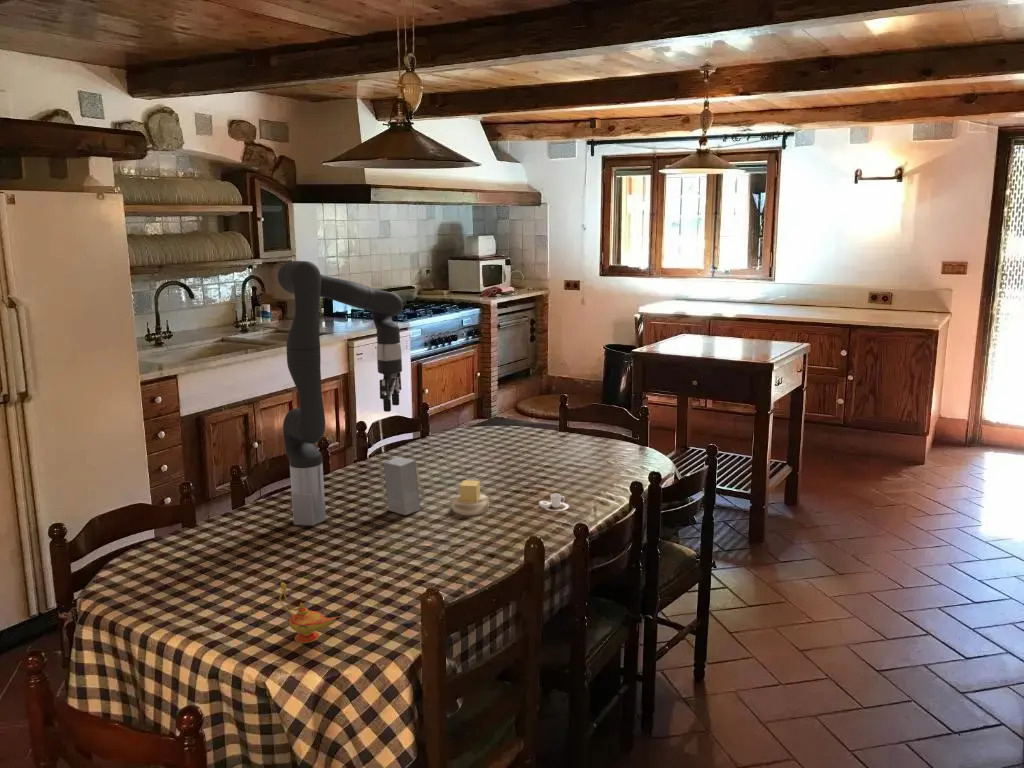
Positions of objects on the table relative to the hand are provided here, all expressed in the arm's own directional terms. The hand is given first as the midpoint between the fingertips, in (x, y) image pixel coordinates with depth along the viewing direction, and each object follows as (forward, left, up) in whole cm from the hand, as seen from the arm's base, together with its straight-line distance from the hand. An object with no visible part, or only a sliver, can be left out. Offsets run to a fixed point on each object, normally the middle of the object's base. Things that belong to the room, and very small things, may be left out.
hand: (391, 408), depth 257 cm
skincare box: (-15, -7, -28) cm, 33 cm away
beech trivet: (-11, -27, -28) cm, 40 cm away
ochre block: (-11, -27, -25) cm, 38 cm away
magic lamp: (-92, -11, -28) cm, 97 cm away
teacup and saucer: (-3, -50, -29) cm, 58 cm away
